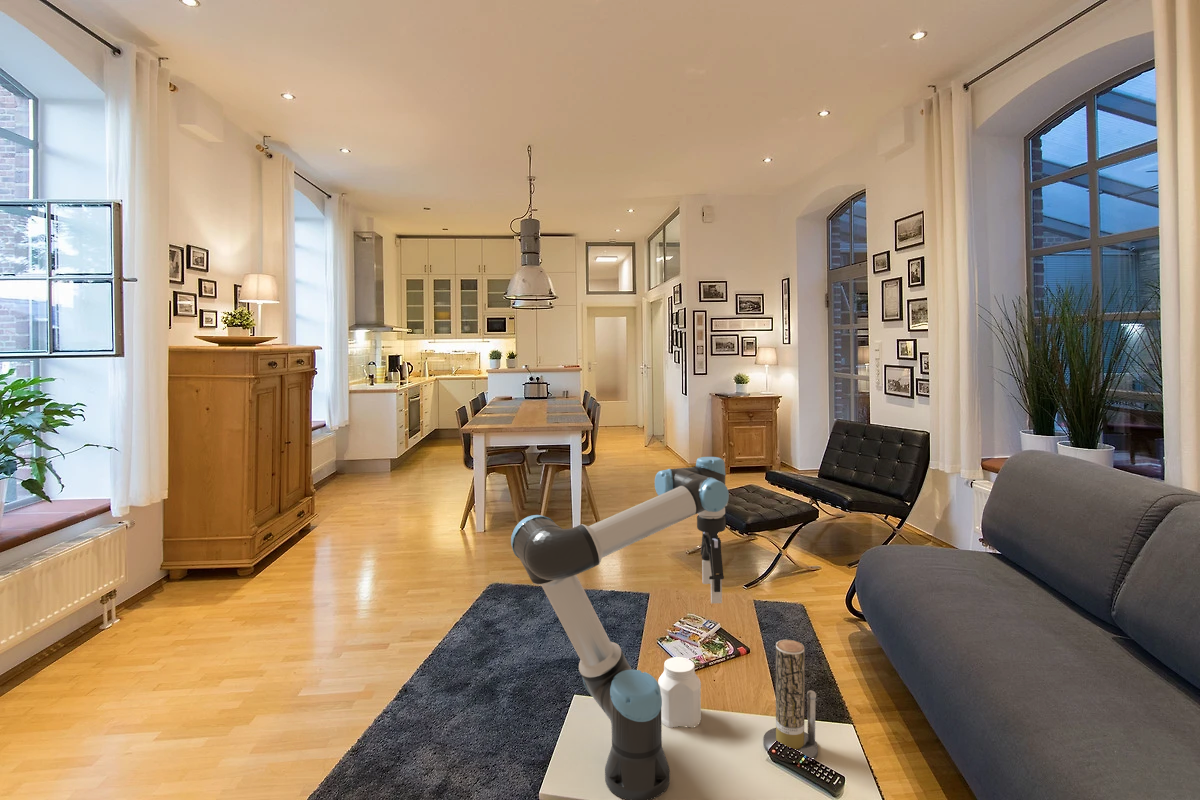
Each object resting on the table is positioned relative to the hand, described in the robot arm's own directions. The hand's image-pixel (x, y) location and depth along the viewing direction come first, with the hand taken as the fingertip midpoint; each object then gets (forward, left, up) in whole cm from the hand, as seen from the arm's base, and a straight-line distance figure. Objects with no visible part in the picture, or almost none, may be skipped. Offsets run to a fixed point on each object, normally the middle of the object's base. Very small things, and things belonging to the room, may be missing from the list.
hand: (711, 592), depth 164 cm
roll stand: (+17, -14, -35) cm, 41 cm away
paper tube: (+17, -14, -34) cm, 40 cm away
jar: (-9, 0, -35) cm, 36 cm away
